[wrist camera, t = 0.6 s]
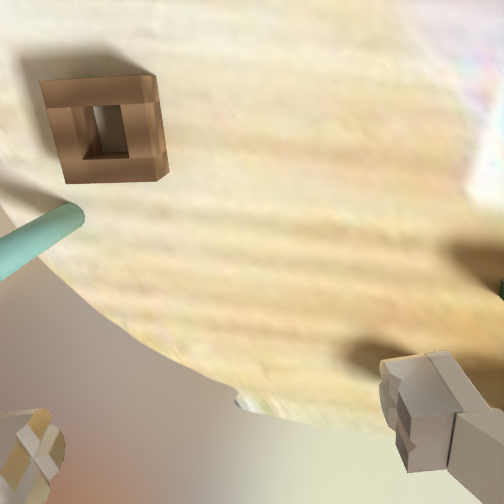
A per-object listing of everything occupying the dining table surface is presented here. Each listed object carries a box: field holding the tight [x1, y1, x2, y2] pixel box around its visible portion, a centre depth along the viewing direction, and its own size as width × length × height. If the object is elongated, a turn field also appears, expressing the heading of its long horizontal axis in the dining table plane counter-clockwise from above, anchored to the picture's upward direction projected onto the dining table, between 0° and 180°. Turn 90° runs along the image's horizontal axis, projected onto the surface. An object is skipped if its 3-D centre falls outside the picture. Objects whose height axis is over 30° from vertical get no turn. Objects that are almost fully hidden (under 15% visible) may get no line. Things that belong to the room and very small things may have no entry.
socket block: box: [39, 75, 169, 184], centre depth 43 cm, size 11×11×5 cm
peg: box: [0, 203, 85, 281], centre depth 43 cm, size 4×4×16 cm
